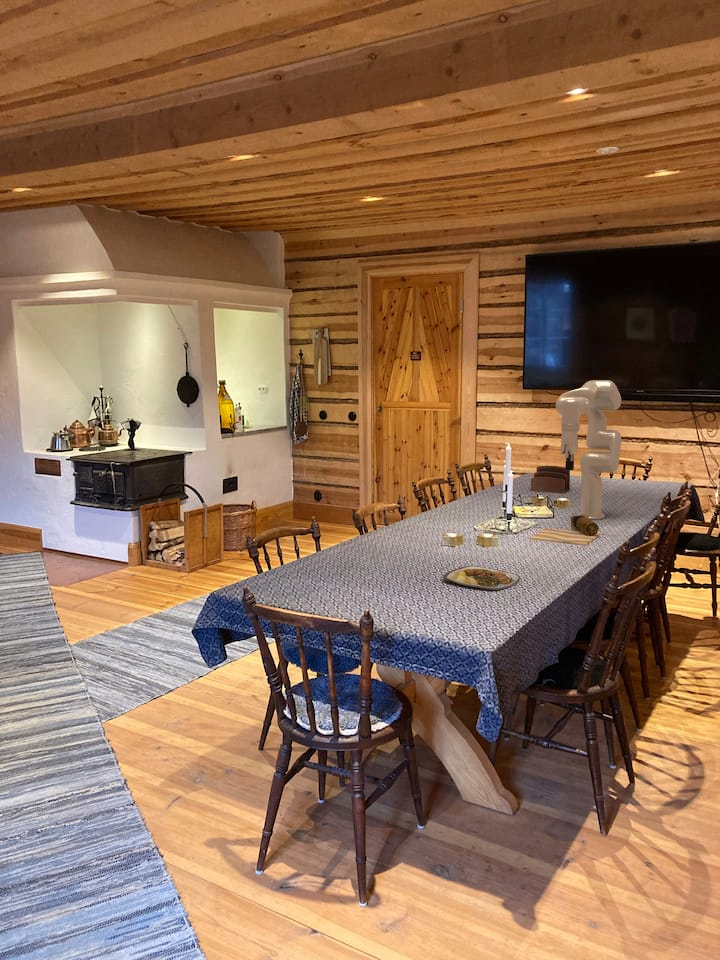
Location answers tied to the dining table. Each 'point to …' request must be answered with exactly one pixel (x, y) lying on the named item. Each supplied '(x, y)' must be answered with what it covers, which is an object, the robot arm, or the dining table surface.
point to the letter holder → (551, 479)
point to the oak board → (564, 536)
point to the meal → (481, 577)
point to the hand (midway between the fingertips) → (569, 469)
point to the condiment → (583, 524)
